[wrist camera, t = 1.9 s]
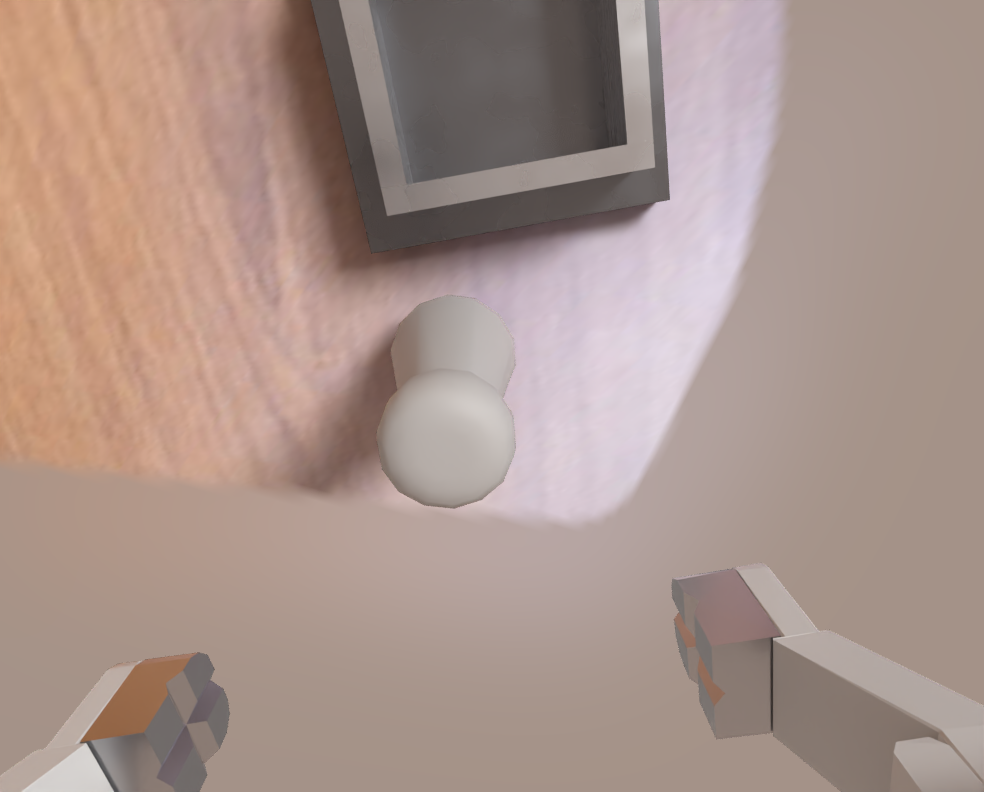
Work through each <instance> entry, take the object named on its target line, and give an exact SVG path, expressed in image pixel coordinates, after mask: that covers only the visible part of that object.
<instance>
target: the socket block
mask: <svg viewBox="0 0 984 792" xmlns="http://www.w3.org/2000/svg"><path fill="white" fill-rule="evenodd" d="M311 3H312V7H313V11H314V16H315V20H316V24H317V28H318V32H319V37H320V41H321V45H322V49H323V53H324V57H325V62H326V66H327V70H328V74H329V78H330V83H331V87H332V91H333V95H334V99H335V103H336V108H337V112H338V116H339V120H340V124H341V129H342V133H343V137H344V141H345V145H346V150H347V154H348V158H349V162H350V166H351V170H352V175H353V179H354V183H355V187H356V191H357V196H358V200H359V204H360V208H361V212H362V216H363V221H364V225H365V229H366V233H367V237H368V242H369V246H370V250H371V254H372V253H377V252H383V251H388V250H394V249H399V248H405V247H410V246H416V245H422V244H427V243H433V242H438V241H444V240H449V239H455V238H460V237H466V236H471V235H477V234H483V233H488V232H494V231H499V230H505V229H510V228H516V227H521V226H527V225H533V224H538V223H544V222H549V221H555V220H560V219H566V218H571V217H577V216H583V215H588V214H594V213H599V212H605V211H610V210H616V209H621V208H627V207H633V206H638V205H644V204H649V203H655V202H660V201H666V200H670V194H669V177H668V159H667V142H666V124H665V107H664V89H663V72H662V54H661V37H660V19H659V2H658V0H311Z"/></svg>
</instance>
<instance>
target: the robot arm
mask: <svg viewBox="0 0 984 792" xmlns="http://www.w3.org/2000/svg"><path fill="white" fill-rule="evenodd" d="M672 598H673V600H674V602H675V605H676V607H677V609H678V611H679V613H678V614H677V616H676V617H675V619H674V624H675V633H676V639H677V643H678V648H679V652H680V655H681V658H682V661H683V664H684V667H685V669H686V672H687V674H688V676H689V678H690V679H691V680H693V681H694V682H696V683H697V684H698V687H699V700H700V704H701V706H702V708H703V711H704V713H705V715H706V717H707V719H708V722H709V724H710V726H711V728H712V731H713V733H714V735H715V737H716V739H723V738H732V737H741V736H749V735H758V734H767V733H773V736H774V737H775V738H777V739H778V740H779V741H780V742H781V743H783V744H784V745H785V746H786V747H787V748H789V749H790V750H791V751H792V752H793V753H795V754H796V755H797V756H798V757H800V758H801V759H802V760H803V761H804V762H806V763H807V764H808V765H809V766H810V767H812V768H813V769H814V770H815V771H817V772H818V773H819V774H820V775H821V776H823V777H824V778H825V779H826V780H828V781H829V782H830V783H831V784H833V785H834V786H835V787H836V788H837V789H838V790H840V791H841V792H984V706H983V705H981V704H979V703H977V702H975V701H973V700H971V699H969V698H967V697H965V696H963V695H961V694H959V693H957V692H954V691H952V690H950V689H948V688H946V687H944V686H942V685H940V684H938V683H936V682H934V681H932V680H930V679H928V678H926V677H924V676H922V675H920V674H918V673H916V672H914V671H912V670H910V669H907V668H905V667H903V666H901V665H899V664H897V663H895V662H893V661H891V660H889V659H887V658H885V657H883V656H881V655H879V654H877V653H875V652H873V651H870V650H868V649H866V648H864V647H862V646H860V645H858V644H856V643H854V642H852V641H850V640H848V639H846V638H844V637H842V636H840V635H838V634H836V633H834V632H832V631H830V630H826V631H819V630H818V629H817V628H816V627H815V625H814V624H813V623H812V622H811V620H810V619H809V618H808V617H807V615H806V614H805V613H804V612H803V610H802V609H801V608H800V606H799V605H798V604H797V603H796V602H795V600H794V599H793V598H792V596H791V595H790V594H789V593H788V591H787V590H786V589H785V588H784V586H783V585H782V584H781V582H780V581H779V580H778V579H777V577H776V576H775V575H774V574H773V572H772V571H771V570H770V569H769V567H768V566H767V565H765V564H763V563H756V564H751V565H745V566H740V567H734V568H732V569H727V570H720V571H715V572H709V573H702V574H697V575H690V576H684V577H678V578H673V579H672ZM213 672H214V667H213V665H212V663H211V661H210V659H209V657H208V655H207V654H203V653H192V654H183V655H176V656H168V657H161V658H153V659H146V660H144V661H134V662H127V663H119V664H117V665H115V666H113V667H111V668H109V669H108V670H107V671H106V672H105V674H104V675H103V676H102V677H101V678H100V680H99V681H98V682H97V684H96V685H95V686H94V687H93V689H92V690H91V691H90V692H89V694H88V695H87V696H86V697H85V699H84V700H83V701H82V703H81V704H80V705H79V706H78V708H77V709H76V710H75V711H74V713H73V714H72V715H71V716H70V718H69V719H68V720H67V722H66V723H65V724H64V725H63V727H62V728H61V729H60V731H59V732H58V733H57V734H56V735H55V737H54V738H53V739H52V740H51V742H50V743H49V745H48V746H47V747H46V748H45V749H42V750H36V751H34V752H33V753H31V754H30V755H29V756H27V757H26V758H24V759H23V760H22V761H20V762H19V763H17V764H16V765H15V766H13V767H12V768H10V769H9V770H8V771H6V772H5V773H3V774H2V775H1V776H0V792H200V790H201V787H202V785H203V783H204V781H205V779H206V777H207V771H206V767H205V764H204V763H205V762H206V761H207V760H208V759H209V758H210V757H212V756H213V755H214V754H215V753H216V752H217V751H218V750H219V749H220V747H221V744H222V742H223V740H224V738H225V735H226V733H227V728H228V721H229V715H230V712H229V705H228V699H227V697H226V694H225V692H224V689H223V688H221V687H220V686H218V685H217V684H215V683H214V682H212V681H211V680H210V679H211V677H212V674H213Z"/></svg>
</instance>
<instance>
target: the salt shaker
mask: <svg viewBox="0 0 984 792" xmlns="http://www.w3.org/2000/svg"><path fill="white" fill-rule="evenodd" d="M390 351H391V357H392V363H393V369H394V375H395V381H396V387H397V391H396V392H395V393H394V394H393V395H392V396H391V397H390V398H389V400H388V402H387V404H386V406H385V409H384V412H383V415H382V417H381V420H380V423H379V426H378V429H377V432H376V436H377V445H378V451H379V456H380V461H381V467H382V470H383V471H384V472H385V474H386V475H387V477H388V478H389V479H390V481H391V482H392V483H393V485H394V486H395V487H396V489H397V490H398V491H399V492H400V493H402V494H404V495H406V496H408V497H410V498H411V499H413V500H415V501H417V502H419V503H421V504H423V505H426V506H435V507H444V508H453V509H454V508H457V507H460V506H464V505H467V504H470V503H473V502H476V501H479V500H482V499H483V498H484V497H486V496H487V495H488V494H489V493H490V492H491V491H493V490H494V489H495V488H496V487H497V486H499V485H500V484H501V483H502V482H503V481H504V479H505V476H506V474H507V471H508V469H509V467H510V464H511V462H512V459H513V457H514V453H515V449H516V443H515V429H514V418H513V415H512V412H511V410H510V409H509V407H508V406H507V404H506V402H505V401H504V399H503V397H504V394H505V391H506V388H507V386H508V383H509V381H510V378H511V376H512V373H513V370H514V368H515V365H516V364H515V350H514V338H513V336H512V335H511V333H510V331H509V330H508V328H507V327H506V325H505V323H504V322H503V320H502V318H501V317H500V315H499V314H498V313H496V312H495V311H493V310H492V309H490V308H489V307H487V306H486V305H484V304H483V303H481V302H480V301H478V300H476V299H475V298H468V297H461V296H453V295H445V296H442V297H439V298H436V299H433V300H430V301H427V302H424V303H421V304H419V305H418V306H417V307H416V308H415V309H414V310H413V311H412V312H411V313H410V314H409V315H408V316H407V317H406V318H405V319H404V320H403V321H402V322H401V323H400V324H399V327H398V330H397V333H396V336H395V338H394V341H393V344H392V347H391V350H390Z"/></svg>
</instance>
